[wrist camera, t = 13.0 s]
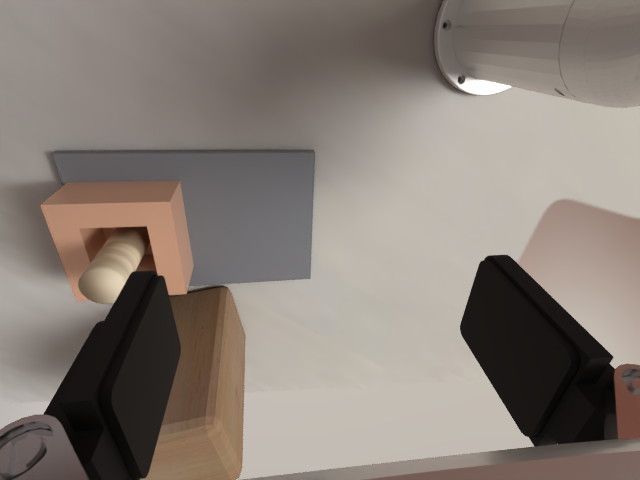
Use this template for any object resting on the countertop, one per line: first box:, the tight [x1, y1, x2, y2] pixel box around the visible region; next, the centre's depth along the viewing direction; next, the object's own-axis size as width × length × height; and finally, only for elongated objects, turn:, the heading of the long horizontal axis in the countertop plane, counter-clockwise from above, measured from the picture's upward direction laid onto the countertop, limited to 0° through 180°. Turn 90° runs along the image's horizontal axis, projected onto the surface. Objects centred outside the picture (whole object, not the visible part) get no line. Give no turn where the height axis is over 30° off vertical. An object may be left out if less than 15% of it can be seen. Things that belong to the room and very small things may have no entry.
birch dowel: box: [78, 226, 150, 304], centre depth 35 cm, size 4×4×10 cm
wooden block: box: [140, 286, 245, 480], centre depth 41 cm, size 10×10×20 cm
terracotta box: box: [40, 181, 194, 301], centre depth 38 cm, size 11×11×6 cm
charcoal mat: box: [52, 150, 315, 286], centre depth 42 cm, size 26×17×1 cm, turn 88°
